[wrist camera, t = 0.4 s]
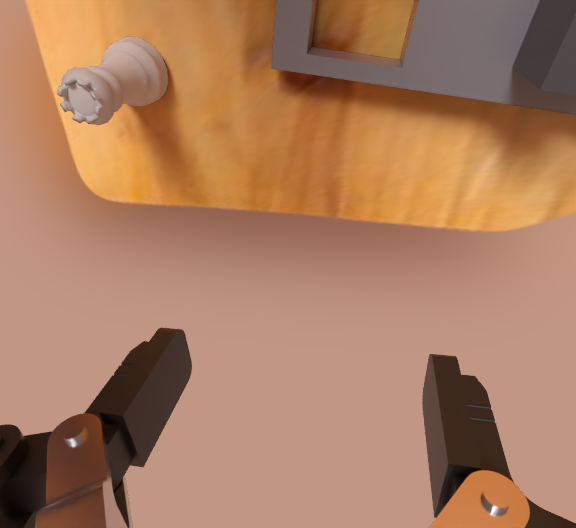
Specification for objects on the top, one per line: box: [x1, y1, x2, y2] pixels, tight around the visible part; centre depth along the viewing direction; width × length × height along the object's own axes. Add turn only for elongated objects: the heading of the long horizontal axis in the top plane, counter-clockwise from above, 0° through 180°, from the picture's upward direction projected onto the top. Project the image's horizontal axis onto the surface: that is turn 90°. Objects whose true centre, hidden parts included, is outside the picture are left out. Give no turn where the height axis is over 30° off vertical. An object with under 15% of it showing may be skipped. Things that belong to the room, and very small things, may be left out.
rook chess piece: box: [57, 36, 168, 125], centre depth 26 cm, size 4×4×8 cm
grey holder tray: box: [271, 0, 576, 115], centre depth 21 cm, size 22×8×8 cm, turn 84°
